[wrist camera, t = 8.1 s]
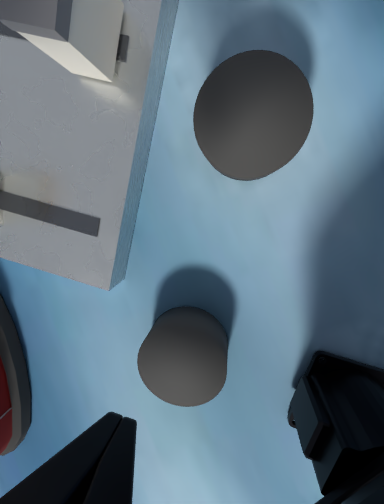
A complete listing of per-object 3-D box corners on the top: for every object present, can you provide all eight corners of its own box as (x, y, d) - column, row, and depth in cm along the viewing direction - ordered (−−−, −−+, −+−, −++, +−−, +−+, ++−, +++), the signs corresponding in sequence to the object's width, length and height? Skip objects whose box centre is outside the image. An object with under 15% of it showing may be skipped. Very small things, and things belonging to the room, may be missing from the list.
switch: (125, 4, 13) (67, -97, 9) (113, 83, 14) (54, 30, 10) (80, -5, 14) (0, -108, 9) (71, 74, 14) (-6, 17, 10)
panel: (178, 0, 15) (167, -38, 13) (124, 279, 20) (108, 291, 17) (-30, -40, 17) (-77, -81, 14) (-37, 230, 21) (-74, 235, 19)
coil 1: (237, 320, 19) (238, 342, 16) (215, 386, 21) (212, 418, 18) (159, 296, 20) (147, 314, 17) (144, 362, 21) (130, 389, 18)
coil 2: (313, 88, 15) (332, 63, 12) (279, 190, 17) (289, 190, 14) (214, 67, 16) (209, 38, 13) (190, 168, 17) (181, 163, 14)
